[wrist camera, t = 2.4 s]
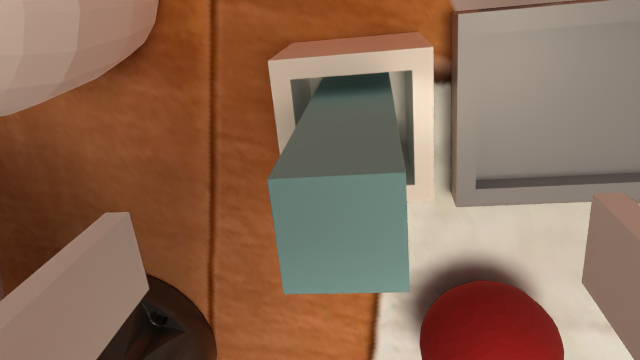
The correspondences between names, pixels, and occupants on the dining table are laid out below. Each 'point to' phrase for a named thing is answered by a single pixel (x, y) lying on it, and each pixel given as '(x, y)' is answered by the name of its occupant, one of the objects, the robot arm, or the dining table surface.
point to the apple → (488, 325)
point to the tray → (545, 103)
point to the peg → (343, 192)
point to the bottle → (64, 44)
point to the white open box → (362, 58)
